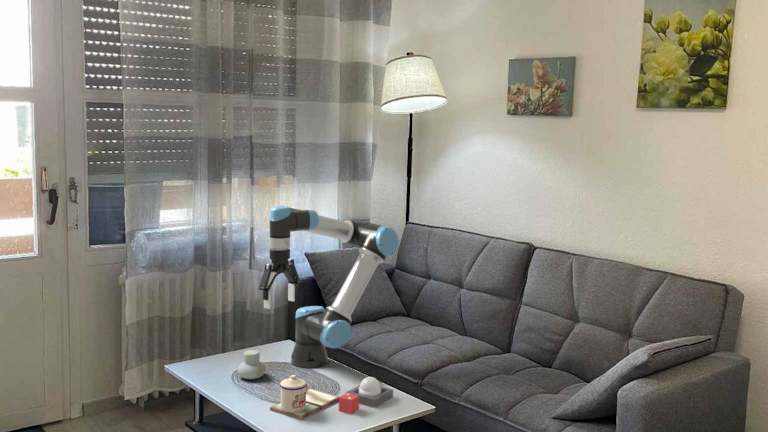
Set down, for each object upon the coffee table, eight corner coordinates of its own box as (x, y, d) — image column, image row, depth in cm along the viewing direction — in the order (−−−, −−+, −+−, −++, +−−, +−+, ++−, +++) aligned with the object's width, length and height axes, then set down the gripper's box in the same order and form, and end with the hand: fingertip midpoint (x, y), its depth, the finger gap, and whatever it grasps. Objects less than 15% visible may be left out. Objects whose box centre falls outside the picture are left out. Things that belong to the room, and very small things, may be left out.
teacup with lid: (294, 415, 248) (294, 382, 247) (274, 409, 253) (274, 376, 252) (317, 404, 258) (317, 372, 257) (297, 398, 263) (297, 366, 262)
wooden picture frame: (309, 390, 274) (309, 388, 273) (340, 399, 266) (340, 396, 266) (269, 410, 255) (269, 406, 255) (301, 419, 248) (301, 416, 248)
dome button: (366, 390, 273) (367, 372, 272) (385, 395, 269) (385, 376, 268) (354, 397, 266) (354, 378, 265) (372, 402, 262) (373, 383, 261)
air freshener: (253, 383, 280) (253, 357, 278) (234, 380, 283) (234, 354, 281) (268, 374, 290) (268, 349, 289) (249, 371, 293) (249, 346, 291)
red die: (347, 406, 260) (347, 392, 259) (358, 409, 258) (359, 395, 257) (338, 410, 256) (339, 396, 255) (350, 414, 253) (350, 399, 253)
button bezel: (365, 389, 276) (365, 382, 276) (392, 397, 269) (393, 389, 269) (346, 400, 266) (346, 392, 265) (374, 408, 259) (374, 399, 259)
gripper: (264, 254, 261) (264, 313, 263) (309, 245, 281) (308, 299, 284) (248, 252, 265) (248, 309, 267) (293, 242, 285) (293, 296, 288)
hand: (279, 304), depth 276 cm, fingers open, 13 cm apart
